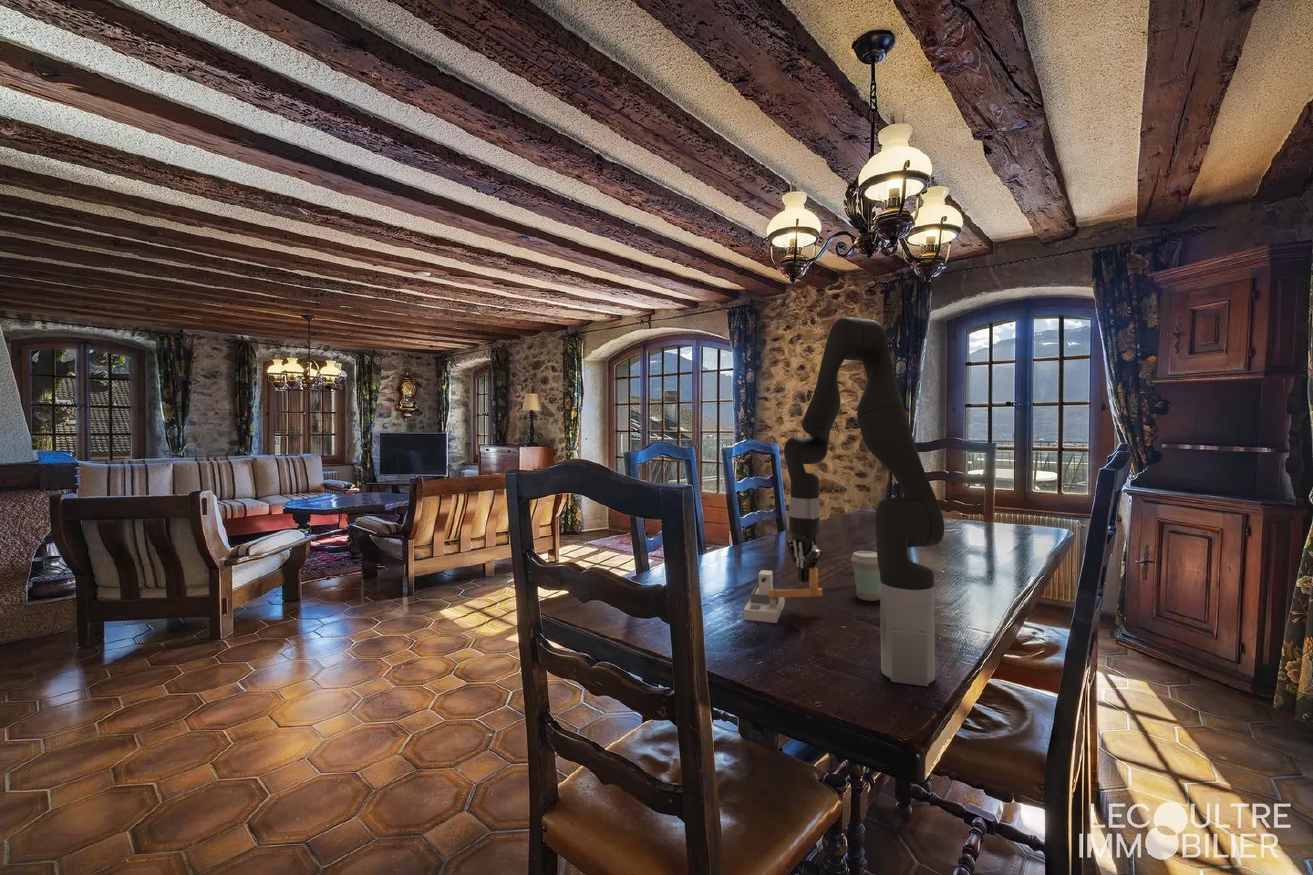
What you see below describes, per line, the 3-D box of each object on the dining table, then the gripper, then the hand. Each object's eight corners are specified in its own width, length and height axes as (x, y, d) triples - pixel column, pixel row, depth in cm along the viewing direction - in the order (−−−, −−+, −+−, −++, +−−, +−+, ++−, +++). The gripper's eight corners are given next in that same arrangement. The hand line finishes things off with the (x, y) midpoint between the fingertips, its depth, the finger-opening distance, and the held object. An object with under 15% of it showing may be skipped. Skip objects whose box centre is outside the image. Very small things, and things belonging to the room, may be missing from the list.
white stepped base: (776, 622, 132) (776, 604, 132) (743, 619, 134) (743, 601, 134) (784, 604, 146) (784, 587, 146) (754, 601, 148) (754, 584, 148)
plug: (773, 605, 137) (773, 577, 137) (753, 603, 139) (753, 575, 139) (777, 597, 143) (776, 570, 143) (757, 595, 145) (757, 569, 145)
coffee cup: (887, 595, 152) (887, 552, 151) (881, 604, 144) (881, 558, 144) (855, 591, 156) (855, 549, 156) (848, 599, 149) (847, 555, 149)
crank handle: (769, 598, 135) (769, 570, 135) (767, 595, 137) (767, 568, 137) (823, 596, 136) (822, 568, 136) (820, 593, 138) (819, 567, 138)
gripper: (777, 511, 145) (776, 575, 146) (807, 520, 133) (806, 590, 133) (801, 509, 148) (800, 573, 148) (833, 518, 135) (832, 587, 136)
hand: (803, 581), depth 141 cm, fingers closed
